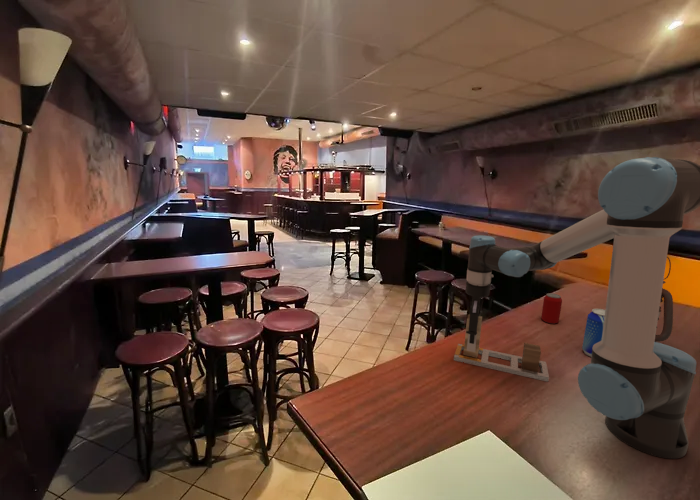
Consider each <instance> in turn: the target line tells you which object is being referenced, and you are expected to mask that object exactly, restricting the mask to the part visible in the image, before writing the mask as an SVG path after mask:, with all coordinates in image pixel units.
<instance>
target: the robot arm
mask: <svg viewBox="0 0 700 500" xmlns="http://www.w3.org/2000/svg"><path fill="white" fill-rule="evenodd" d="M597 199H598V205H599V206H600V208H602V209H601V210H599V211H597V212H596V213H594V214H592V215H590V216H588V217H586V218H584V219H582V220H579V221H577V222H576V223H574V224H572V225H570V226H569V227H567V228H564V229H563V230H561V231H558V232H557V233H554V234H553V235H551V236H548V237H547V238H545V239H543V240H542V241H539V242H538V243H535V244H533V245H531V246H530V245H529V246H528V245H527V246H519V247H518V246H517V247H504V246H498V245H496V244H497V243H496V238H494V237H493V236H490V235H473V236H472V237H471V238H470V242H469V248H468V260H467V261H468V262H467V270H466V283H465V294H467V295H468V296H470V299H469V315H470V320H469V330H468V331H466V330H465V334H466V333H468V341H467V351H471V352H475V349H476V339H477V325H478V317H481V313H482V307H483V303H484V299H483V298H486V297H489V296H490V294H491V282H492V278H494V274H492V272H493V271H496V272H498V273H500V274H504V275H506V276H508V277H514V278H521V277H524V275H526V274H527V273H528V272H532V271H544V270H548V269H551V268H553V267H555V266H556V265H557V264H558V263H559V262H562V261H563V260H566V259H568V258H570V257H573V256H574V255H577V254H580V253H582V252H585V251H586V250H589V249H592V248H595V247H597V246H599V245H601V244H604V243H605V242H606V243H607V242H608V241H610V240H612V239H613V244H612V245H613V246H612V252H611V253H612V255H611V259H610V261H611V262H610V270H609V279H608V284H607V285H608V286H607V295H606V302H605V309H604V310H605V318H604V327H603V335H602V340H601V341H600V342H598V343H596V344H594V345H593V348H592V356H591V357H590V363H588V364H586V365H584V366H583V367H581V369H580V371H579V372H578V376H577V383H578V388H579V390H580V392H581V394H582V397H584V398H585V399H586V400H587V403H588V404H589V405H590V406H591V407H592V408H593V409H594V410H595V411H596V412H598V413H600V414H602V415H603V416H605V420H604V421H605V425H606V427H607V428H608V430H610V432H611V433H612V434H613V435H614V436H615V437H616V438H617V439H619V440H620V441H621V442H623V443H625V444H627V445H628V446H630V447H632V448H633V449H636V450H637V451H641V452H643V453H645V454H648V455H651V456H654V457H658V458H664V459H672V460H673V459H681V458H683V457H684V456H686V454H687V451H688V448H689V438H688V434H687V429H686V425H685V419H684V417H685V412H686V409H687V405H688V401H689V398H690V395H691V391H692V387H693V383H694V379H695V376H696V375H697V372H696V370H697V369H696V368H697V360H696V359H695V357H693V356H692V355H690V354H689V353H687V352H685V351H683V350H681V349H678V348H676V347H674V346H671V345H668V344H665V343H664V344H663V343H661V342H655V335H657V334H656V332H657V329H658V321H659V320H658V314H659V307H661V302H660V300H661V293H662V288H663V285H664V284H663V281H664V279H665V272H666V264H667V259H668V258H667V257H668V251H669V246H670V245H669V244H670V238H671V237H672V236H673V235H674V234H677V233H678V232H679V231H681V230H682V229H683V225H684V224H683V223H684V217H685V215H687V214H689V213H692V212H694V211H695V210H697V209H699V208H700V164H698V163H697V162H693V161H691V160H687V159H673V158H662V157H656V156H655V157H653V156H652V157H649V156H646V157H640V158H632V159H628V160H625V161H623V162H621V163H619V164H617V165H615V166H614V167H613V168H612V169H611V170H609V171H608V172H607V173H606V174H605V176H604V177H603V178H602V180H601V182H600V184H599V187H598V190H597Z"/></svg>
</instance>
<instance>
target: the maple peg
mask: <svg viewBox="0 0 700 500" xmlns="http://www.w3.org/2000/svg"><path fill="white" fill-rule="evenodd" d="M469 320H470V314H467V317H466V325H465V326H466V327H465V335H464V351H463V355H462V356H467V357H471V358H476V359H478V357H479V354H478V352H479V348H480V343H481V342H480V341H481V333H482V323H483V322H482V321H483V316H479V317H478V325H477V339H476V349H475V352H471V351H467V341H468V333H466V331H468V330H469Z"/></svg>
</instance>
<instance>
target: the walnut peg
mask: <svg viewBox="0 0 700 500" xmlns="http://www.w3.org/2000/svg"><path fill="white" fill-rule="evenodd" d="M523 343H524V344H523V350H522V355H521V357H522V363H520V365H521V368H520V369H524V370H529V371H533V372H538V373H539V368H540V367H539V362H540V361H541V355H542V350H541V349H542V348H541V345H537V344H533V343H528V342H523Z"/></svg>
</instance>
